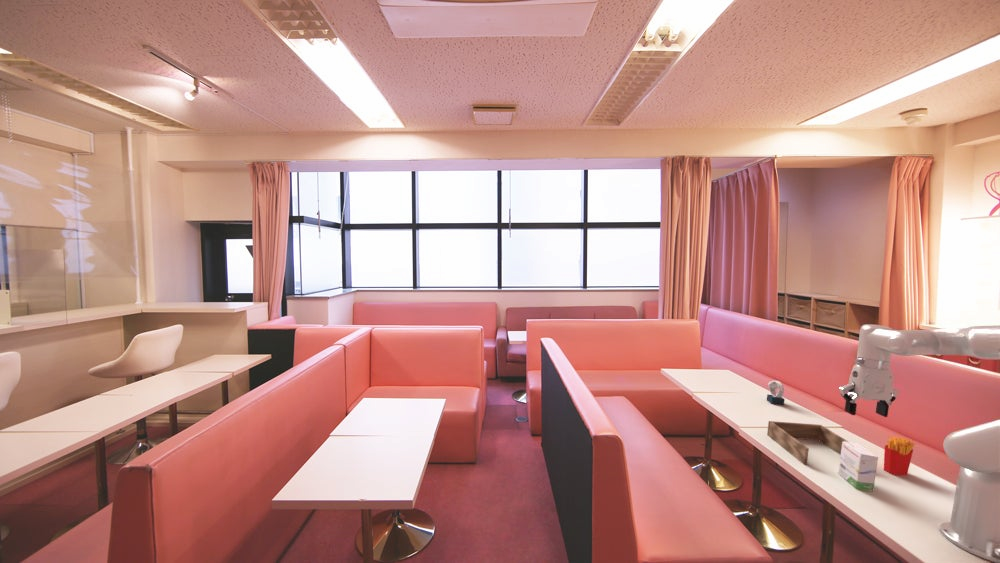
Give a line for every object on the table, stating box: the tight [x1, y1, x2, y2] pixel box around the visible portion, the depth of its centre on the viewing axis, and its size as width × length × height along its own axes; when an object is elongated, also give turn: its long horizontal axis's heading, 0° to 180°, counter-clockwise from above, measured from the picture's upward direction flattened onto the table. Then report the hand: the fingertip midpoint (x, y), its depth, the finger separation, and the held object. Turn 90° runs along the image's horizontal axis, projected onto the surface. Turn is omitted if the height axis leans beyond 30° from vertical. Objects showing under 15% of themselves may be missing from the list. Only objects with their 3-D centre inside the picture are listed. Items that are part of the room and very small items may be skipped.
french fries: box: [883, 436, 916, 476], centre depth 124 cm, size 8×4×12 cm, turn 92°
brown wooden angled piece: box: [766, 420, 849, 465], centre depth 136 cm, size 20×20×6 cm
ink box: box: [837, 441, 879, 492], centre depth 117 cm, size 8×5×12 cm, turn 168°
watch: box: [766, 380, 786, 406], centre depth 179 cm, size 6×8×11 cm
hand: (865, 414), depth 116 cm, fingers open, 9 cm apart
